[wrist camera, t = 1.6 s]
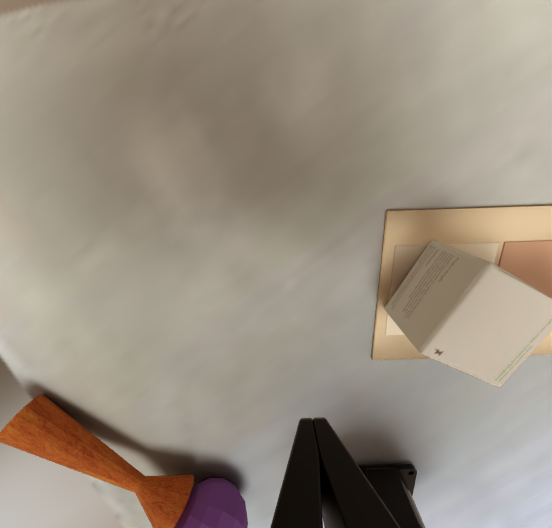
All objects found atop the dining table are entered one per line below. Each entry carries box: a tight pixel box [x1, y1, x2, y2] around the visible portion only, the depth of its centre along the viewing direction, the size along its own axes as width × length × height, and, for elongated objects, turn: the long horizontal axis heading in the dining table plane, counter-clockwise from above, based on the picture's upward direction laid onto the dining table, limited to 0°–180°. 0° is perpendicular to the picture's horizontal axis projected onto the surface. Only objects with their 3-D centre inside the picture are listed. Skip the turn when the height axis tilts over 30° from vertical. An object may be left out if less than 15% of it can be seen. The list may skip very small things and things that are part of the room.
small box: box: [384, 240, 552, 387], centre depth 16 cm, size 6×6×5 cm
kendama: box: [0, 395, 248, 528], centre depth 21 cm, size 6×6×20 cm
